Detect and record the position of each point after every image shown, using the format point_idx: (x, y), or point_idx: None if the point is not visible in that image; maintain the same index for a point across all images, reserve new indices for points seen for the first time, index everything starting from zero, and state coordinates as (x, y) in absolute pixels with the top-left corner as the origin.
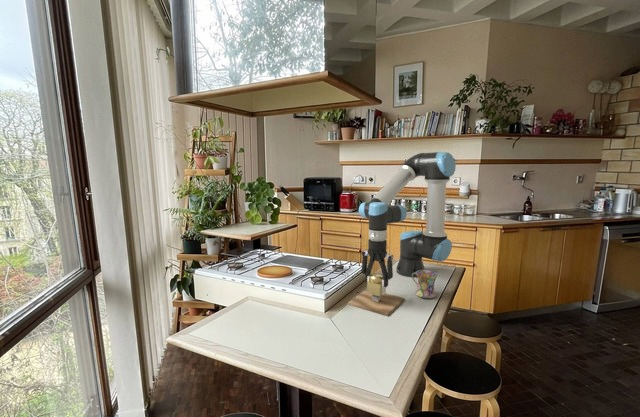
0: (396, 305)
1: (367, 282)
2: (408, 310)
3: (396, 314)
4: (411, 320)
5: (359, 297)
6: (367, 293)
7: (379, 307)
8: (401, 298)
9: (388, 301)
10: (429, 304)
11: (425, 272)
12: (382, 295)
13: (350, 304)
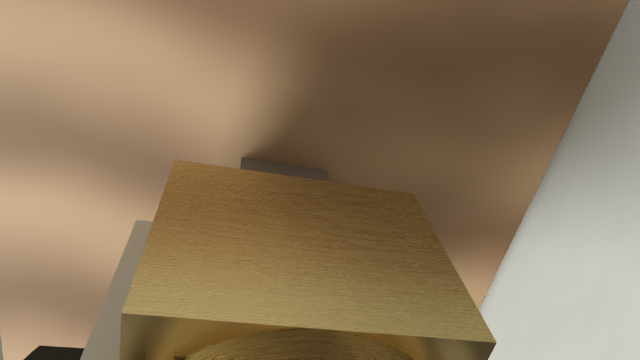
0: (514, 231)
1: None
2: (616, 222)
3: (500, 324)
4: (608, 355)
5: (41, 217)
6: (68, 45)
7: None
8: (593, 19)
9: (423, 180)
10: None
11: None
12: (315, 24)
13: None
